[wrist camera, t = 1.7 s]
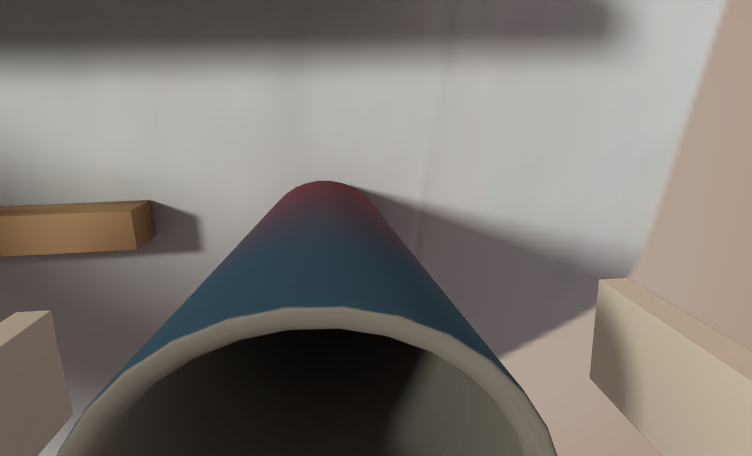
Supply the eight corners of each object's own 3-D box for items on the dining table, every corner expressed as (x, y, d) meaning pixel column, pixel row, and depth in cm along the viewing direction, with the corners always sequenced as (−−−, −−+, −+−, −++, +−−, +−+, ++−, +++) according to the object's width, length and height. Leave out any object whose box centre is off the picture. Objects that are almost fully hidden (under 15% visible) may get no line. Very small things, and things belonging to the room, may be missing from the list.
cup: (419, 285, 22) (601, 648, 7) (274, 329, 22) (165, 787, 7) (378, 139, 20) (513, 233, 5) (220, 185, 20) (-72, 409, 5)
